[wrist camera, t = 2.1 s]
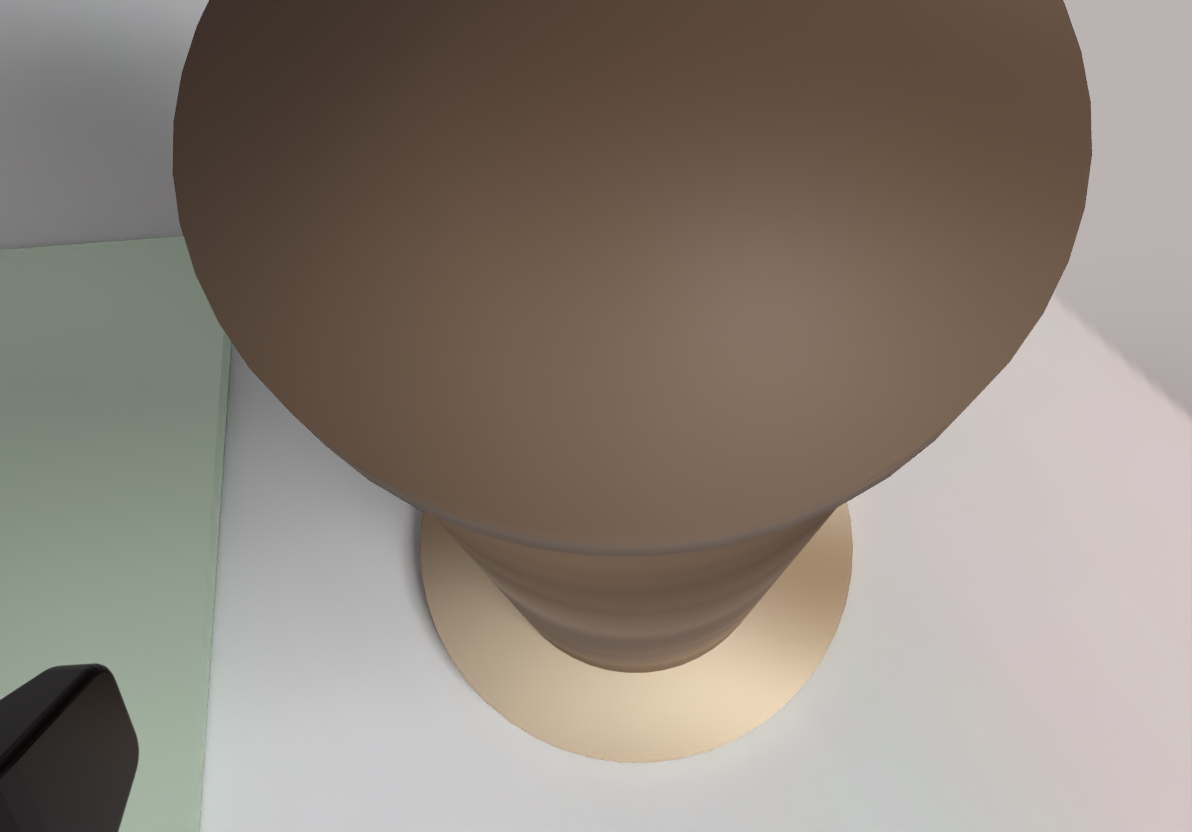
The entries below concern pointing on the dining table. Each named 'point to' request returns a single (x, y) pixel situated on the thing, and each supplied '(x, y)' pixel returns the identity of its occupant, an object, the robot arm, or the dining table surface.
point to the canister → (630, 265)
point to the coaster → (639, 700)
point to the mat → (115, 492)
